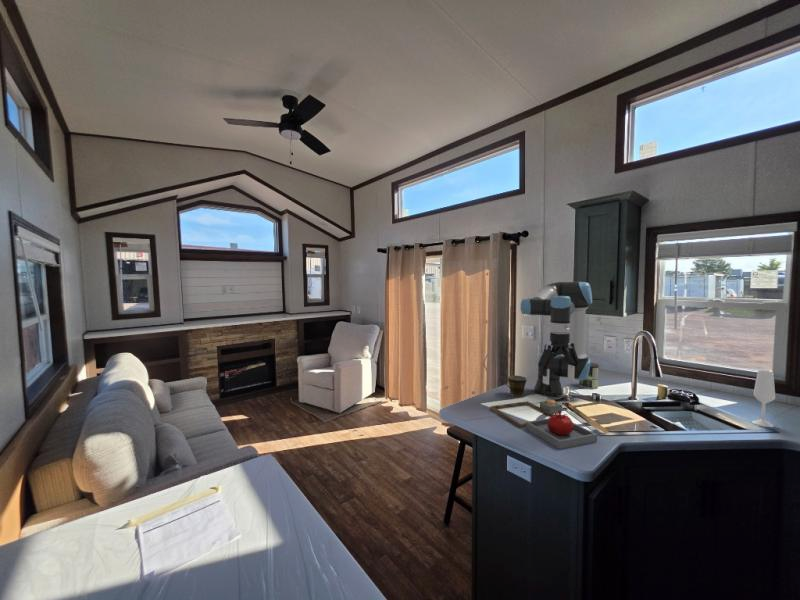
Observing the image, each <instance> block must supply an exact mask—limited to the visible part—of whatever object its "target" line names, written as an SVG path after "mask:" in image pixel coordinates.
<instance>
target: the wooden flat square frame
mask: <svg viewBox="0 0 800 600" xmlns="http://www.w3.org/2000/svg"><path fill="white" fill-rule="evenodd" d="M522 406H528V407H530V408H532V409H534V410H537V411H539V412H540V413H543V414H544V415H546V416H548V417H549V418H550V417H551V416H552V415H555V414H552V413H550V412H548V411H546V410H544V409H542V408H540V406H538V405H536V404H534V403H532V402H530V401H527V400H526V401H519V402H514V403H512V402H511V403H507V404H506V403H505V404H499V405H498V404H497V405H491V406H489V410H490V411H492V412H493V413H495V414H496V415H499V416H500V417H502V418H503V419H505V420H507V421H508V422H510V423H511V424H513V425H514V426H516V427H518V428H519V429H526V422H523V423H521V422H519V421H517V420H516V419H514V418H512V417H510V416H509V415H507V414H506V413H504V412H502V411H501V409H508V408H515V407H522Z"/></svg>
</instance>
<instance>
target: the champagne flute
mask: <svg viewBox="0 0 800 600" xmlns="http://www.w3.org/2000/svg"><path fill="white" fill-rule="evenodd" d="M774 376H775V374H774V372H772V371H769V370H761V369H760V370H757V374H756V378H755V383H754V389H753V394H752V395H753V396H754V397H755V399H756V400H757V401H758V402H760V403H761V409H760V410H761V411H760V412H761V413H760V415H761V416H760V419H756V420H751V423H753V424H754V425H757V426H761V427H766V428H768V427H769V428H773V427H774V425H773V424H771V422H768V421H766V407H767V406H766V404H769V403H771V402H772V401H774V400H775V399H776V389H775V377H774Z"/></svg>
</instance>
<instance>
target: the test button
mask: <svg viewBox="0 0 800 600" xmlns="http://www.w3.org/2000/svg"><path fill="white" fill-rule="evenodd" d="M546 401H547V402H546V404H548V405H555V402H556V400H554V399H551V398H548V399H546Z"/></svg>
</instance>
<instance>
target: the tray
mask: <svg viewBox="0 0 800 600" xmlns="http://www.w3.org/2000/svg"><path fill="white" fill-rule="evenodd" d="M549 418H550V417H547V418H541V419H536V420H535V419H534V420H530V421H525V423H526V427H525V429H526V430H527V431H529V432H531V433H532V434H534V436H537V437H539V438H540V439H542V440H544V441H545V442H547V443H548V444H550V445H552V447H553V446H554V447H555V448H557V449H559V450H562V449H563V450H564V449H568V448H572V447H573V448H574V447H577V446H578V447H579V446H582V445H588V444H593V443H597V442H598V434H597V433H596V432H593V431H591V430H589V429H587V428H585V427H583V426H581V425H579V424H578V423H577V424H576V423H574V422H573V425H574V429H573V431H572V432H571V433H570V434H568V435H563V436H560V435H556V434H554V433H552V432H551V431H550V430H549V429H548V424H547V422H548V420H549Z"/></svg>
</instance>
